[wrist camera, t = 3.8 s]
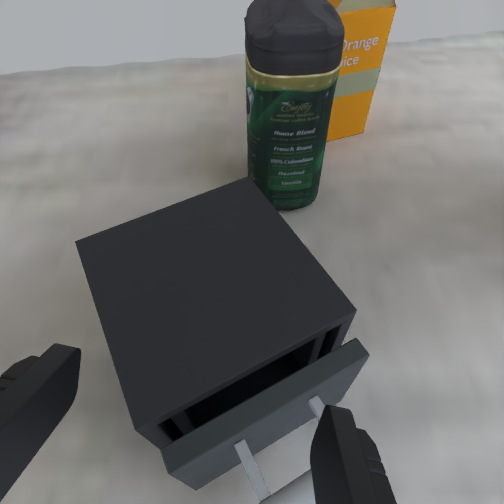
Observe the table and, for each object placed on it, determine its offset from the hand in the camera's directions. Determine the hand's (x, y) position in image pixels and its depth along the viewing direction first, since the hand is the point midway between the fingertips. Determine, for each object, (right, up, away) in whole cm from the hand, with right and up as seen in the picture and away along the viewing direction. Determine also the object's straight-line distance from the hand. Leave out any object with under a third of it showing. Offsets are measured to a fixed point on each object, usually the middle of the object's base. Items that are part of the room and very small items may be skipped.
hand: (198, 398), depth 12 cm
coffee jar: (+5, +13, +31) cm, 34 cm away
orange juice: (+11, +23, +38) cm, 46 cm away
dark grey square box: (-1, -3, +19) cm, 19 cm away
